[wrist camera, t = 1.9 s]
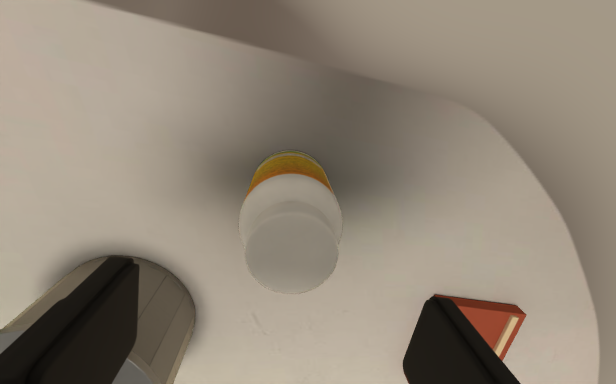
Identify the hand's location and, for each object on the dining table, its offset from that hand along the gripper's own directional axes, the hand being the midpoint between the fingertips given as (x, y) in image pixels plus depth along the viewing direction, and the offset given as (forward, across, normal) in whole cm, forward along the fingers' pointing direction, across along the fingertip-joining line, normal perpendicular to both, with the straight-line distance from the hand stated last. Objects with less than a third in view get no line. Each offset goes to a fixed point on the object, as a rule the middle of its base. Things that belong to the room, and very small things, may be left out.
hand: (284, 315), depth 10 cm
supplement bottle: (+13, 0, 0) cm, 13 cm away
